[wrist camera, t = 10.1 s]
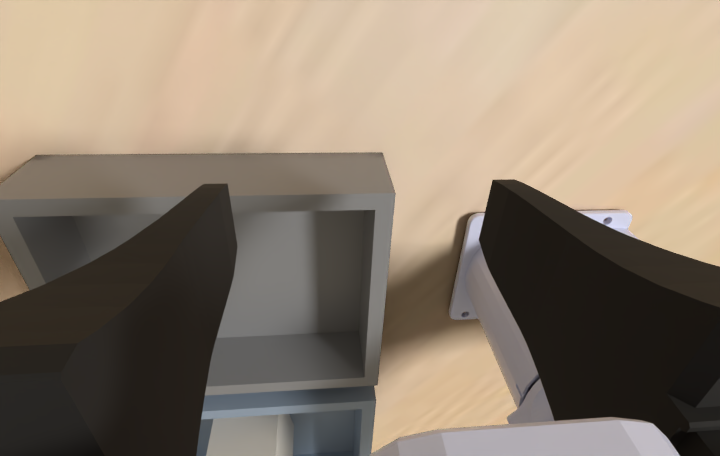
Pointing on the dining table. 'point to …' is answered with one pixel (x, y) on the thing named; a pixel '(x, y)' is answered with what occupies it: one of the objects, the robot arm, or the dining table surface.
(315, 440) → the slate blue bin
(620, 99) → the dining table surface
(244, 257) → the grey bin
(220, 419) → the cream block
